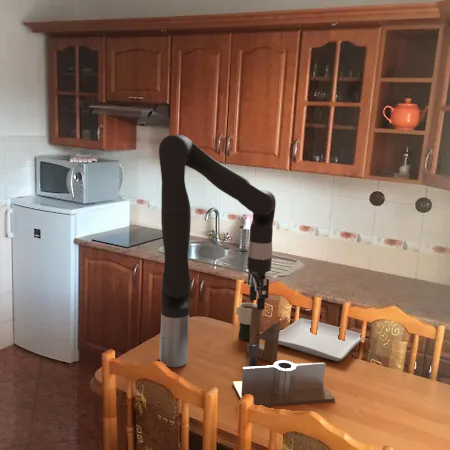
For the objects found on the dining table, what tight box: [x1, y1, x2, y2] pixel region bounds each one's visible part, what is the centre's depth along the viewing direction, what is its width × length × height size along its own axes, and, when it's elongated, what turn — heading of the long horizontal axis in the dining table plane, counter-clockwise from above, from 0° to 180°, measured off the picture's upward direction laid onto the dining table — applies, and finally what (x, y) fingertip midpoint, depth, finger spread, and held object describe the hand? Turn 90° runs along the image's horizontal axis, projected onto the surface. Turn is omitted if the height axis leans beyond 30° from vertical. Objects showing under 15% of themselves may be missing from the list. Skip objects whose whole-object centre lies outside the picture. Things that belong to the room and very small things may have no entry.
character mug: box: [235, 302, 254, 341], centre depth 200 cm, size 11×7×13 cm, turn 50°
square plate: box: [278, 317, 364, 362], centre depth 199 cm, size 27×27×4 cm
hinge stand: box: [232, 360, 336, 408], centre depth 161 cm, size 28×14×9 cm, turn 103°
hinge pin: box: [247, 344, 258, 367], centre depth 172 cm, size 3×3×10 cm
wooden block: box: [246, 303, 281, 364], centre depth 184 cm, size 4×11×18 cm, turn 52°
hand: (256, 304), depth 168 cm, fingers open, 8 cm apart
